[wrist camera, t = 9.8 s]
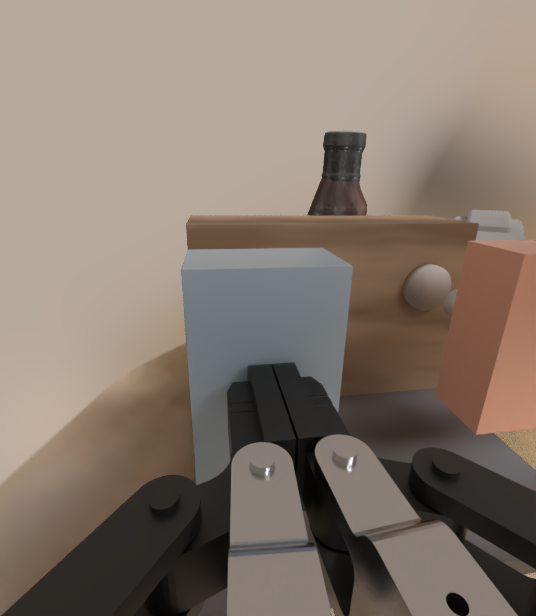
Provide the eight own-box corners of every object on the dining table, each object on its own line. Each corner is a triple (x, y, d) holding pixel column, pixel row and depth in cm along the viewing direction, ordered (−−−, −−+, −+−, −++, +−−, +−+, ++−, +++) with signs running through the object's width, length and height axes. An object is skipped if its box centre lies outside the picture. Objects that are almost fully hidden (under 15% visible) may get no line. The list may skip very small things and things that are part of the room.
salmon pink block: (404, 366, 21) (428, 231, 18) (479, 361, 22) (513, 230, 19) (475, 434, 15) (525, 254, 13) (573, 424, 16) (639, 252, 13)
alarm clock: (441, 291, 53) (459, 203, 48) (489, 298, 50) (512, 205, 45) (422, 353, 34) (448, 217, 29) (498, 370, 31) (539, 222, 26)
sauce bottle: (292, 312, 43) (299, 134, 36) (337, 307, 45) (352, 137, 38) (315, 333, 37) (329, 126, 30) (365, 327, 39) (389, 130, 32)
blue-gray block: (200, 393, 18) (191, 236, 15) (295, 386, 19) (303, 235, 16) (196, 489, 12) (180, 270, 10) (331, 473, 13) (353, 266, 10)
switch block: (200, 380, 28) (190, 215, 24) (406, 366, 31) (432, 215, 27) (189, 632, 13) (153, 286, 8) (608, 559, 15) (756, 269, 11)
